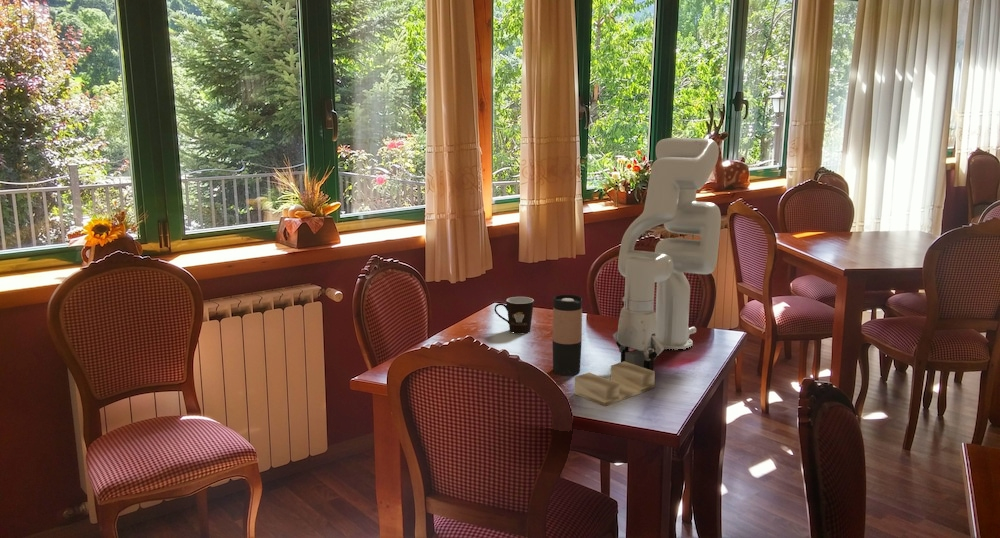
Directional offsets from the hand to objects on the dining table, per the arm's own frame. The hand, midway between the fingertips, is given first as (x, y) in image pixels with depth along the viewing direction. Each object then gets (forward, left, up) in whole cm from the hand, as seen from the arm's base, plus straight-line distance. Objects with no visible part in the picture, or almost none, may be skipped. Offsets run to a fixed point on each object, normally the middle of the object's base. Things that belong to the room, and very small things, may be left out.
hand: (636, 369), depth 199 cm
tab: (0, 0, -1) cm, 1 cm away
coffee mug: (-1, -50, -1) cm, 50 cm away
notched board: (+14, +5, -1) cm, 15 cm away
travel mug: (+13, -13, -1) cm, 18 cm away
